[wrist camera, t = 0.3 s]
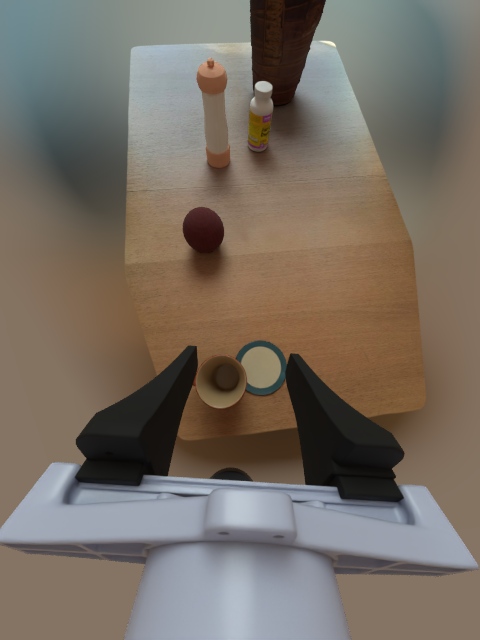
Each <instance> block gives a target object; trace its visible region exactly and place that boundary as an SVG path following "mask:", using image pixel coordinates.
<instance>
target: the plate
mask: <svg viewBox="0 0 480 640" xmlns="http://www.w3.org/2000/svg"><path fill="white" fill-rule="evenodd" d="M236 359H237V360H238V361H239V362H240V363H241V364H242V366H243V367H244V369H245V372H246V376H247V386H246V390H247V391H249V392H251V393H253V394H257V395H267V394H270V393H272V392H274V391H276V390H277V389H278V388H279V387H280V386H281V385H282V384H283V382H284V380H285V378H286V376H285V371H286V367H287V364H286V360H285V357H284V355H283V353H282V352H281V351H280V349H279V348H278V347H276V346H275V345H273V344H272V343H270V342H266V341H254V342H251V343H249V344H247V345H245V346H244V347H243V348H242V349H241V350H240V351H239V353H238V355H237V357H236Z"/></svg>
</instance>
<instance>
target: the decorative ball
mask: <svg viewBox="0 0 480 640" xmlns="http://www.w3.org/2000/svg"><path fill="white" fill-rule="evenodd" d="M183 233H184V237H185V239H186V241H187V243H188V244H189V245H190V246H191V247H192V248H193V249H195V250H197V251H199V252H203V253H207V252H212V251H214V250H216V249H217V248H218V247H219V246H220V244H221V243H222V241H223V237H224V227H223V223H222V221H221V219H220V217H219V216H218V215H217V214H216V213H215V212H214V211H212V210H211V209H209V208H205V207H198V208H195V209H193V210H191V211H190V212H189V213H188V214H187V215H186V217H185V219H184V222H183Z"/></svg>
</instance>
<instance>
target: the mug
mask: <svg viewBox="0 0 480 640" xmlns="http://www.w3.org/2000/svg"><path fill="white" fill-rule="evenodd" d="M193 385H194V386H196V391H197V394H198V395H199V397H200V399H201V400H202V401H203V402H204V403H205V404H206V405H208V406H210V407H212V408H216V409H226V408H229V407H231V406H233V405H235V404H236V403H237V402H239V400H240V399H241V398H242V397H243V395H244V393H245V390H246V386H247V376H246V372H245V369H244V367H243V366H242V364H241V363H240V362H239V361H238V360H237V359H235V358H234V357H232V356H229V355H223V354H220V355H215V356H212V357H210V358H208V359H207V360H206V361H204V362H203V363H202V365H201V366H200V367H199V369H198V371H197V373H196V376H195V379H194V382H193Z"/></svg>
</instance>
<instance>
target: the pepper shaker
mask: <svg viewBox="0 0 480 640" xmlns="http://www.w3.org/2000/svg"><path fill="white" fill-rule="evenodd" d="M197 83H198V85H199V88H200V89H201V91H202V98H203V106H204V122H205V137H206V153H207V160H208V163H209V164H210V165H211V166H212V167H215V168H222V167H225V166H227V165H228V164H229V162H230V146H229V143H228V127H227V121H226V114H225V95H224V90H225V88H226V84H227V75H226V72H225V70H224V67H223V66H222V65H220V64H219V63H217V62H215V61H214V60H213V59H212V58H209V59H208V60H207V62H205V63H203V64H202V65H200V67H199V68H198V72H197Z"/></svg>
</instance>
